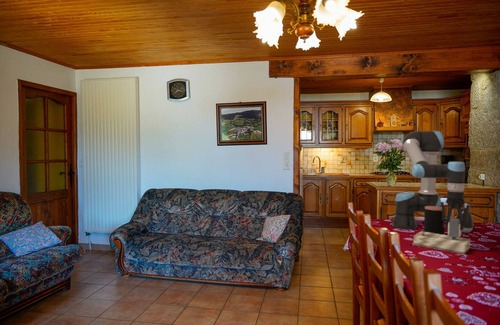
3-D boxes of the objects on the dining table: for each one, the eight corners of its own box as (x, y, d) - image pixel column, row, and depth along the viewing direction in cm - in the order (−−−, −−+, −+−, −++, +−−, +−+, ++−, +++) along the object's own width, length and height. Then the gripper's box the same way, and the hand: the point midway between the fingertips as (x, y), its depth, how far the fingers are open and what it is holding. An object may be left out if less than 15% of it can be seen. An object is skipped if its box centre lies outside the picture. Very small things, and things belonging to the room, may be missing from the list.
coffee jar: (447, 240, 191) (448, 209, 190) (427, 239, 193) (427, 208, 192) (440, 235, 201) (441, 206, 200) (421, 234, 203) (422, 205, 203)
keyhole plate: (413, 244, 181) (413, 235, 181) (421, 239, 192) (421, 231, 191) (464, 254, 165) (464, 244, 165) (469, 248, 175) (470, 239, 175)
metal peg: (447, 246, 174) (448, 219, 173) (449, 244, 178) (450, 217, 177) (458, 248, 171) (459, 220, 170) (460, 246, 174) (461, 219, 174)
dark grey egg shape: (467, 229, 216) (468, 206, 215) (476, 233, 206) (477, 209, 205) (451, 229, 217) (451, 206, 216) (459, 233, 207) (460, 209, 206)
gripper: (435, 190, 176) (434, 233, 177) (473, 193, 164) (472, 239, 165) (439, 189, 182) (438, 231, 183) (476, 191, 170) (474, 236, 171)
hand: (454, 234), depth 174 cm, fingers closed on metal peg, 4 cm apart
